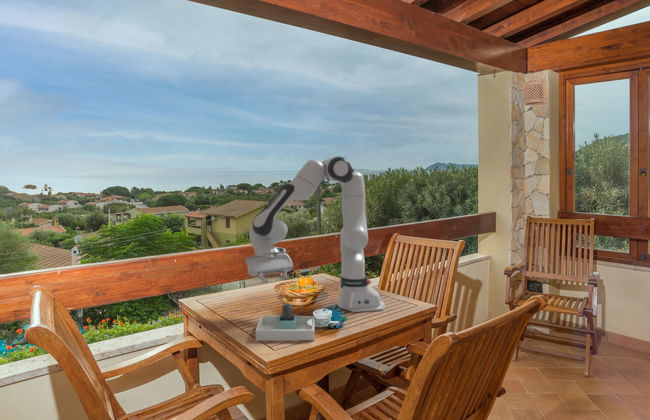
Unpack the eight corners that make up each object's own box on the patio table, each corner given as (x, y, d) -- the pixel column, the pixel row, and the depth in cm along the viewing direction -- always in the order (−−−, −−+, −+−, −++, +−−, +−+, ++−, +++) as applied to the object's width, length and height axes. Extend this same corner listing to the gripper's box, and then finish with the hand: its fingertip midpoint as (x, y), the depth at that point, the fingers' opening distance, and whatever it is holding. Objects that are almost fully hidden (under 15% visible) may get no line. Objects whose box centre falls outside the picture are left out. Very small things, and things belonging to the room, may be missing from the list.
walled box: (314, 325, 170) (314, 313, 170) (314, 340, 154) (314, 327, 154) (261, 325, 170) (261, 313, 169) (255, 340, 154) (255, 327, 153)
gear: (319, 325, 166) (322, 303, 172) (318, 331, 170) (321, 309, 177) (346, 329, 166) (348, 307, 172) (344, 335, 170) (346, 313, 177)
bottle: (292, 326, 167) (292, 301, 166) (291, 329, 163) (291, 304, 162) (282, 326, 166) (282, 301, 166) (281, 329, 163) (281, 304, 162)
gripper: (245, 253, 177) (254, 280, 169) (288, 248, 187) (298, 273, 180) (242, 261, 181) (251, 288, 173) (284, 256, 191) (294, 281, 184)
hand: (275, 280), depth 177 cm, fingers open, 8 cm apart
